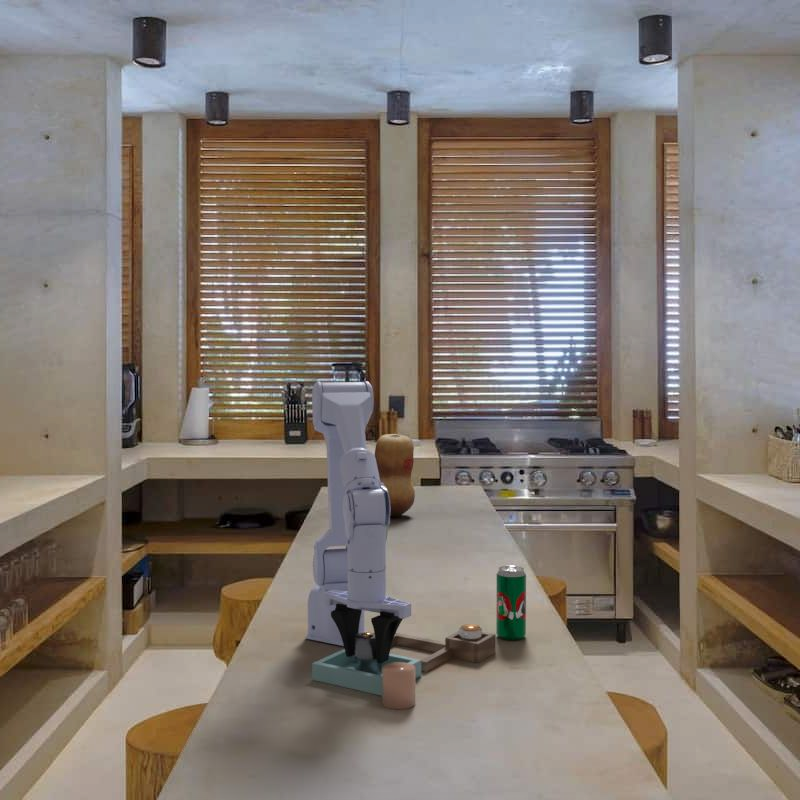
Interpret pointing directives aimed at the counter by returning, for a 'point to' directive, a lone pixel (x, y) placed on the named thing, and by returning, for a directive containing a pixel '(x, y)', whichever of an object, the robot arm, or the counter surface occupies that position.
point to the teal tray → (355, 672)
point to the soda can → (511, 603)
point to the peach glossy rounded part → (398, 685)
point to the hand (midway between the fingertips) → (367, 658)
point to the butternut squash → (396, 470)
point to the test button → (470, 632)
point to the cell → (366, 653)
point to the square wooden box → (471, 647)
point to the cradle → (425, 644)
